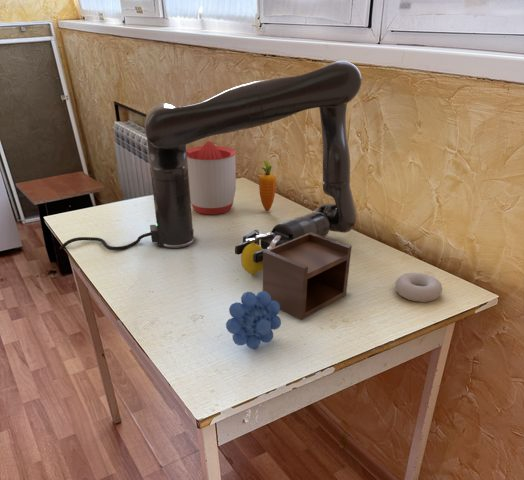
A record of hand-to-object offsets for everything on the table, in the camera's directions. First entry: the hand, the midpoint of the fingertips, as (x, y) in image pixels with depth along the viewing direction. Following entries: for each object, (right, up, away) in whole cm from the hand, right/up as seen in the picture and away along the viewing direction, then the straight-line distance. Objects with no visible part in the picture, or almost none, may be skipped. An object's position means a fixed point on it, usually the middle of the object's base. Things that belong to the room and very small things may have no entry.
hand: (245, 254), depth 112 cm
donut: (+38, -9, -2) cm, 39 cm away
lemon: (+2, -4, +5) cm, 7 cm away
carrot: (+5, +21, +41) cm, 46 cm away
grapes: (+3, -22, -20) cm, 30 cm away
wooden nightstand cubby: (+13, -10, -4) cm, 17 cm away
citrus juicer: (-13, +22, +42) cm, 49 cm away
